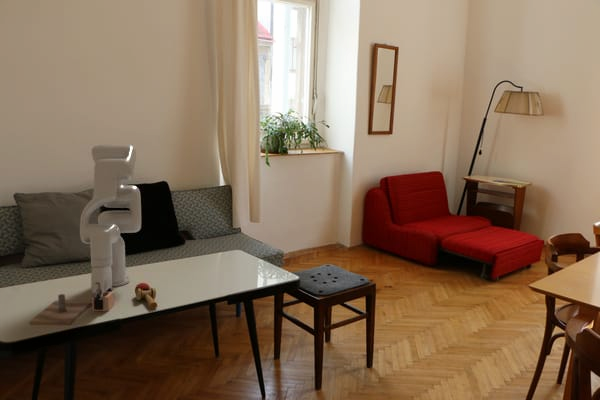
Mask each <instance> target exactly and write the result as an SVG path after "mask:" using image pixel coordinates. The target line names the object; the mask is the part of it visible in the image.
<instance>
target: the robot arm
mask: <svg viewBox="0 0 600 400" xmlns="http://www.w3.org/2000/svg"><path fill="white" fill-rule="evenodd" d="M91 157H92V160H93V162H94V167H93V168H94V169H93V171H94V172H93V197H92V199H90V201H89V202H88V203H87V204H86V205H85V206H84V207H83V208H84V209H82V212H81V215H80V223H79V237H80V238H79V239H80V240H81V242H82V243H83V244H85V245H86V244H88V245H90V246H89V247H90V266H91V267H92V268H91V273H90V274H91V275H90V276H91V278H90V292H91V294H92V297H94V298H93V300H94V309H95V310H103V299H102V296H103V293H104V292H113V287H120V286H124V285H126V284H128V283H129V282H130V280H131V279H130V277H129V276H128V275H126V273H127V272H126V271H127V269H126V249H125V248H126V245H125V244H126V243H125V241H124V239H123V237H122V236H121V234H125V233H127V234H129V233H130V234H131V233H132V234H133V233H137V232H139V231H140V230H141V229H142V205H141V204H142V202H141V200H142V199H141V198H142V197H141V191H140V189H139V187H137V186H136V185H133V184H131V185H129V184H128V185H127V184H126V185H125V184H123V181H124V180H127V181H128V180H131V179H132V177H133V175H134V171H135V165H136V160H137V152H136V149H135V147H134V146H133V145H130V144H97V145H94V146H93V147H92V148H91ZM101 207H105V208H111V209H112V208H113V209H114V208H116V209H117V208H121V209H123V208H127V209H129V210H105V211H103V212H101V213H100V214H99V215H98V218H97V223H89V222H90V221H89V220H90V217H91V215H92V213H93V212H94V211H95V210H97V209H99V208H101ZM99 294H100V296H99Z"/></svg>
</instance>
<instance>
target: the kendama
mask: <svg viewBox="0 0 600 400" xmlns="http://www.w3.org/2000/svg"><path fill="white" fill-rule="evenodd" d="M134 293H135V294H134V295H135V298H136V300H137V301H141V299H145V300H146V303H147V304H148V306H149V308H150V310H155V309H157V308H158V303H157V302H156V301H155V299H156V297H157V291H156V288H155V287H151V286H150V285H149V284H148V283H146V282H139V283H138V284H137V285H136V286H135V287H134Z"/></svg>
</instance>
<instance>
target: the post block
mask: <svg viewBox="0 0 600 400" xmlns="http://www.w3.org/2000/svg"><path fill="white" fill-rule="evenodd" d="M57 296H58V297H57V298H58V300H55V301H53V302H52V303H51V304H49V305H48V306H46V308H44V309H43V310H42V311H40V312H39V313H38V314H36V315H35V316H34V317H33V318H32V319H30V320H29V324H30V325H31V324H32V325H68V326H70V325H71V324H73V323H74V322H75V320H76V319H78V318H79V317H80V316H81V315H83V313H84V312H85V311H86V310H87V309H89V307H90V306H92V305H93V304H92V300H89V301H86V300H85V301H84V300H83V301H82V300H80V301H79V300H66V294H63V293H61V294H58V295H57Z"/></svg>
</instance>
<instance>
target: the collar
mask: <svg viewBox="0 0 600 400" xmlns="http://www.w3.org/2000/svg"><path fill="white" fill-rule="evenodd" d="M99 296H100V294H99ZM91 298H92V299H91V301H92V304H91V305H92V312H110V310H111V309H113V307H114V306H115V292H114V291H112V292H104V293H103V296H102V299H103V310H95V309H94V300H93V298H94V297H93V296H91Z"/></svg>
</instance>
